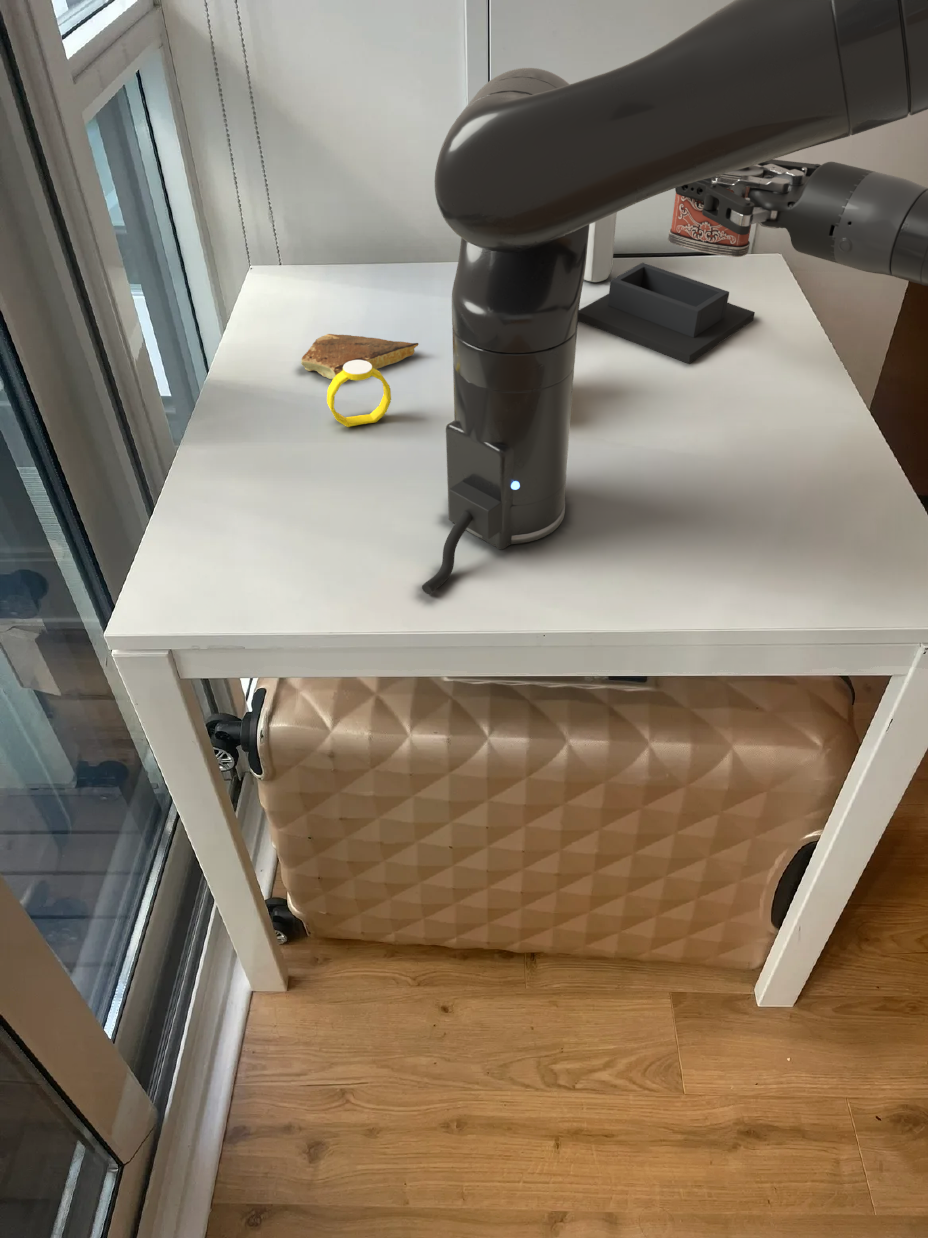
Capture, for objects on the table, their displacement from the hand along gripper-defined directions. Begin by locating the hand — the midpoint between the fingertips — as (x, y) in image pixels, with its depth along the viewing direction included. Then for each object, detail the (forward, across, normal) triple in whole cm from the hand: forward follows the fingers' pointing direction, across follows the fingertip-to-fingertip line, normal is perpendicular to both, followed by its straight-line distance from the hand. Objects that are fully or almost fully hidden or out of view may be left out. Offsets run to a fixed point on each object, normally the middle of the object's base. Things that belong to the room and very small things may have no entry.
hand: (691, 174), depth 89 cm
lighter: (-3, 0, +6) cm, 7 cm away
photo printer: (+20, -9, +18) cm, 28 cm away
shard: (+23, +24, +18) cm, 38 cm away
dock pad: (+4, -5, +18) cm, 19 cm away
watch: (+13, +32, +18) cm, 39 cm away
